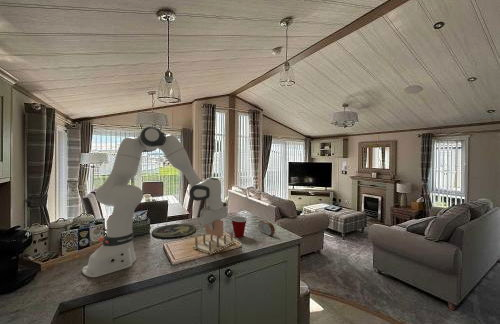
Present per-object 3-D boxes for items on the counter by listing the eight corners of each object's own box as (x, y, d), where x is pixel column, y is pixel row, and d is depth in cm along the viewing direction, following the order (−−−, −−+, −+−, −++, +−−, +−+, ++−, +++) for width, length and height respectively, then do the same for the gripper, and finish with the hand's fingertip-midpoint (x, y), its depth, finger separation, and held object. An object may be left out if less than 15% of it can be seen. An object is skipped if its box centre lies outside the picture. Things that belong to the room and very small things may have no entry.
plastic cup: (242, 240, 143) (241, 221, 143) (227, 237, 148) (227, 219, 148) (250, 235, 152) (250, 217, 152) (237, 232, 158) (236, 215, 157)
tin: (275, 236, 149) (275, 223, 149) (271, 237, 147) (271, 224, 147) (261, 230, 162) (261, 218, 162) (257, 231, 160) (257, 219, 160)
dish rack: (211, 254, 122) (211, 242, 122) (192, 248, 131) (192, 237, 130) (235, 243, 138) (235, 232, 138) (217, 238, 147) (217, 228, 147)
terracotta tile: (220, 237, 130) (220, 221, 130) (205, 233, 137) (205, 218, 137) (223, 235, 132) (223, 220, 132) (208, 232, 139) (208, 217, 139)
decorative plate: (143, 237, 146) (162, 223, 176) (143, 239, 146) (162, 225, 176) (189, 237, 146) (200, 223, 176) (189, 240, 146) (200, 226, 176)
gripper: (204, 209, 124) (205, 234, 124) (229, 202, 141) (229, 225, 141) (196, 207, 127) (197, 232, 128) (221, 201, 144) (221, 223, 144)
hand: (214, 228), depth 134 cm, fingers closed on terracotta tile, 2 cm apart
